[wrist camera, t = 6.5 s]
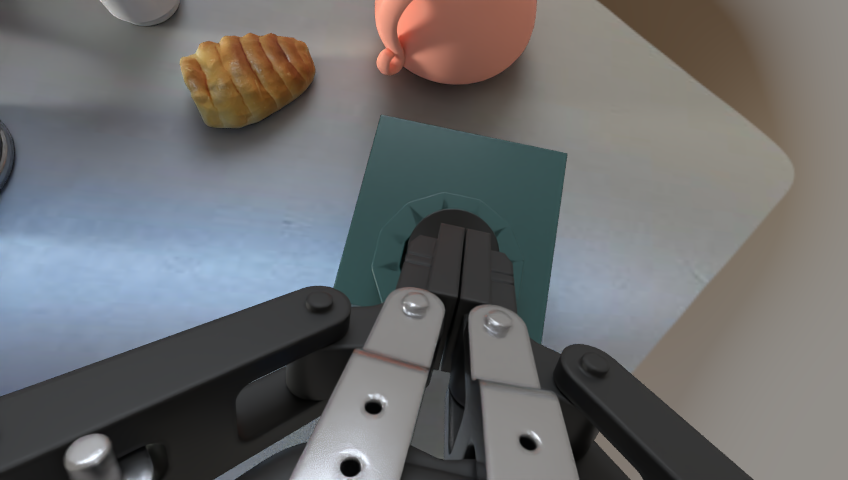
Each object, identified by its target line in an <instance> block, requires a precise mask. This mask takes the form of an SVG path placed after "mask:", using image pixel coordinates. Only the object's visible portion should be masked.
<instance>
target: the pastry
mask: <svg viewBox="0 0 848 480" xmlns="http://www.w3.org/2000/svg"><path fill="white" fill-rule="evenodd" d="M180 66H181V71H182V75H183V78H184V82H185V84H186V86H187V88H188V89H189V90H190V92H191V97H192V99H193V100H194V102H195V104H196V106H197V108H198V110H199V112H200V115H201V116H202V118H203V122H204V123H205V124H206V125H207V126H210V127H216V128H242V127H243V126H246V125H249V124H252V123H257V122H259V121H260V120H262V119H264V118H266V117H268V116H269V115H271V114H272V113H274V112H276V111H278V110H280V109H281V108H282V107H283V106H285V105H287V104H289V103H290V102H292V101H293V100H295V99H296V98H297V97H298V96H300V95H301V94H302V93H303V92H304V91H305V90H306V89H307V87H308V86H309V85H310V84H311V82H312V81H313V79H314V75H315V66H314V62H313V60H312V58H311V56H310V53H309V50H308V47H307V45H306V44H305V43H304V42H302V41H298V40H296V39H294V38H289V37H281V36H276V35H275V34H272V33H270V34H267V35H265V36H258V35H255V34H252V33H248V34H246V35H245V36H243V37H237V36H224V37H223V38H222V39H221V41H220V42H219V43H214V42H211V41H207V42H203V43H201V44H200V45H199V47H198V49H197V51H196V53H195V54H193V55H190V56H188V57H182V58H181V60H180Z"/></svg>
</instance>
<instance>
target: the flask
mask: <svg viewBox="0 0 848 480" xmlns="http://www.w3.org/2000/svg"><path fill="white" fill-rule="evenodd" d="M566 161H567V153H563V152H558V151H553V150H548V149H544V148H539V147H534V146H529V145H525V144H520V143H515V142H510V141H505V140H501V139H496V138H491V137H486V136H481V135H477V134H472V133H467V132H462V131H457V130H453V129H448V128H443V127H438V126H434V125H429V124H424V123H419V122H414V121H410V120H405V119H400V118H395V117H390V116H386V115H381V116H380V119H379V123H378V127H377V130H376V134H375V138H374V141H373V145H372V149H371V152H370V156H369V160H368V163H367V167H366V171H365V174H364V178H363V182H362V185H361V189H360V193H359V196H358V200H357V204H356V207H355V211H354V215H353V218H352V222H351V226H350V229H349V233H348V237H347V240H346V244H345V247H344V251H343V255H342V258H341V262H340V266H339V269H338V273H337V277H336V280H335V284H334V289H337V290H339V291H341V292H342V293H344V294H345V295H346V296H347V297H348V298H349V300H350V302H351V307H359V306H374V305H378V304H381V303H383V302H385V300H386V298H387V297H388V295H389V294H390V293H391V292H393V291H394V290H395V289H396V286H397V283H398V280H399V276H400V273H401V270H402V267H403V264H404V261H405V258H406V255H407V247H408V242H409V238H410V236H411V233H412V231H413V230H414V228H415V227H416V226H417V224H418V223H419V222H420V221H421V220H422V219H423V218H425V217H426V216H428V215H429V214H431V213H433V212H436V211H439V210H443V209H461V210H465V211H468V212H471V213H473V214H475V215H477V216H478V217H480V218H481V219H483V220H484V221H485V222H486V223H487V224H488V225H489V227H490V228H491V229H492V231H493V232H494V234H495V236H496V239H497V242H498V245H499V252H502V253H505V254H506V255H507V257H508V258H509V260H510V261H511V262H512V264H513V273H514V276H513V277H514V283H515V284H514V286H515V294H516V305H517V315H518V316H519V317H520V318H521V319H522V320H523V321H524V323H525V324H526V326H527V330H528V334H529V337H530V338H531V339H533V340H534V341H536V342H537V343H539V344H541V341H542V334H543V327H544V319H545V312H546V305H547V298H548V291H549V283H550V276H551V269H552V262H553V254H554V247H555V240H556V233H557V226H558V218H559V211H560V204H561V197H562V189H563V182H564V175H565V168H566Z"/></svg>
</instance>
